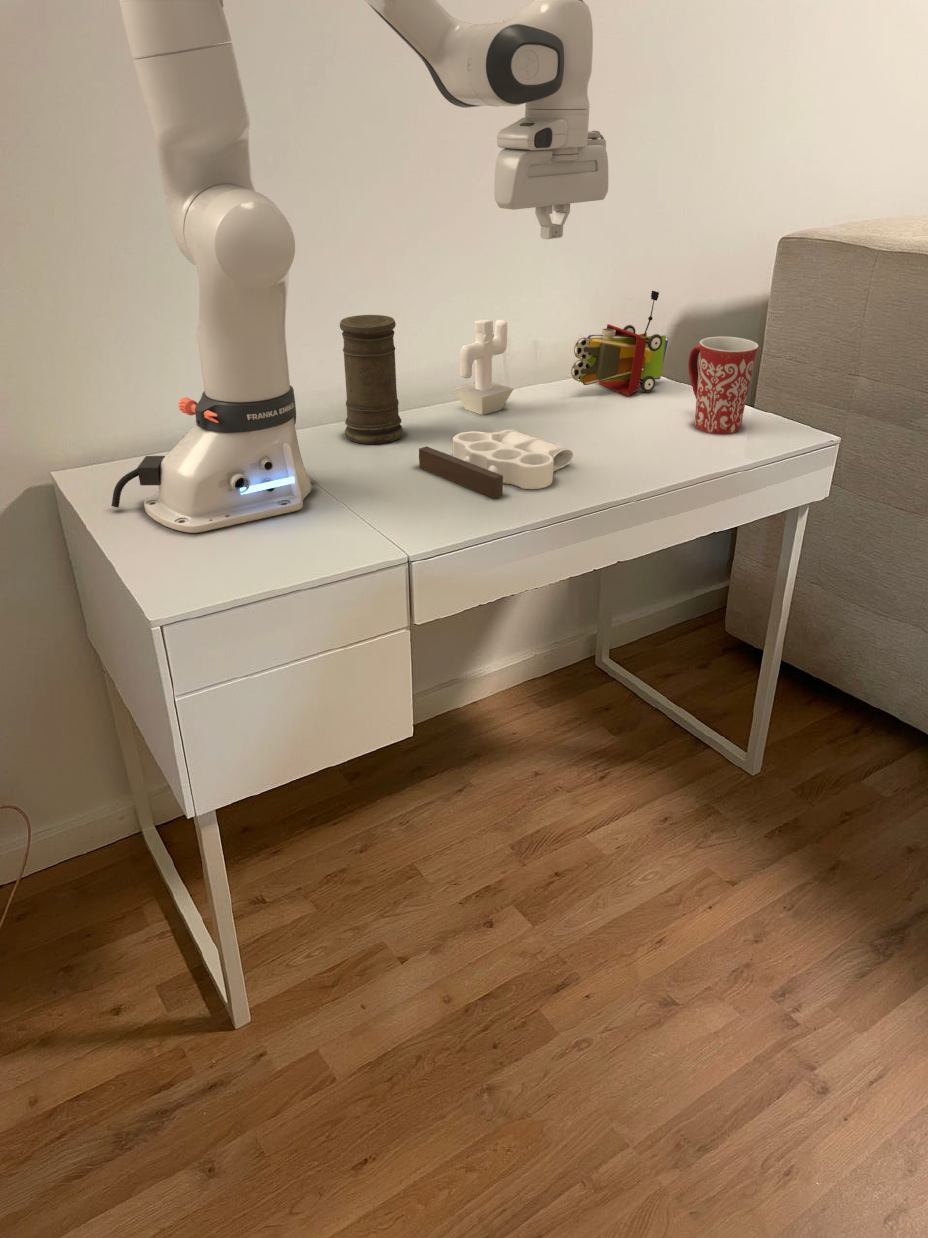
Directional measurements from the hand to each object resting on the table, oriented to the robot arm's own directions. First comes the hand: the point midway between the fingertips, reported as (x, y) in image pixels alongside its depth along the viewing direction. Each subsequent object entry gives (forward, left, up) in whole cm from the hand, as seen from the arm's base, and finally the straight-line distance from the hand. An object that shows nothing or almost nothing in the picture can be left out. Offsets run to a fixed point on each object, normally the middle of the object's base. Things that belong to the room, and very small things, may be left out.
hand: (551, 237), depth 142 cm
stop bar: (-25, -7, -29) cm, 39 cm away
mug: (+22, -16, -29) cm, 40 cm away
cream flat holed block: (-16, -8, -29) cm, 34 cm away
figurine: (0, +15, -29) cm, 33 cm away
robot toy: (+26, +7, -29) cm, 40 cm away
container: (-22, +17, -29) cm, 40 cm away
